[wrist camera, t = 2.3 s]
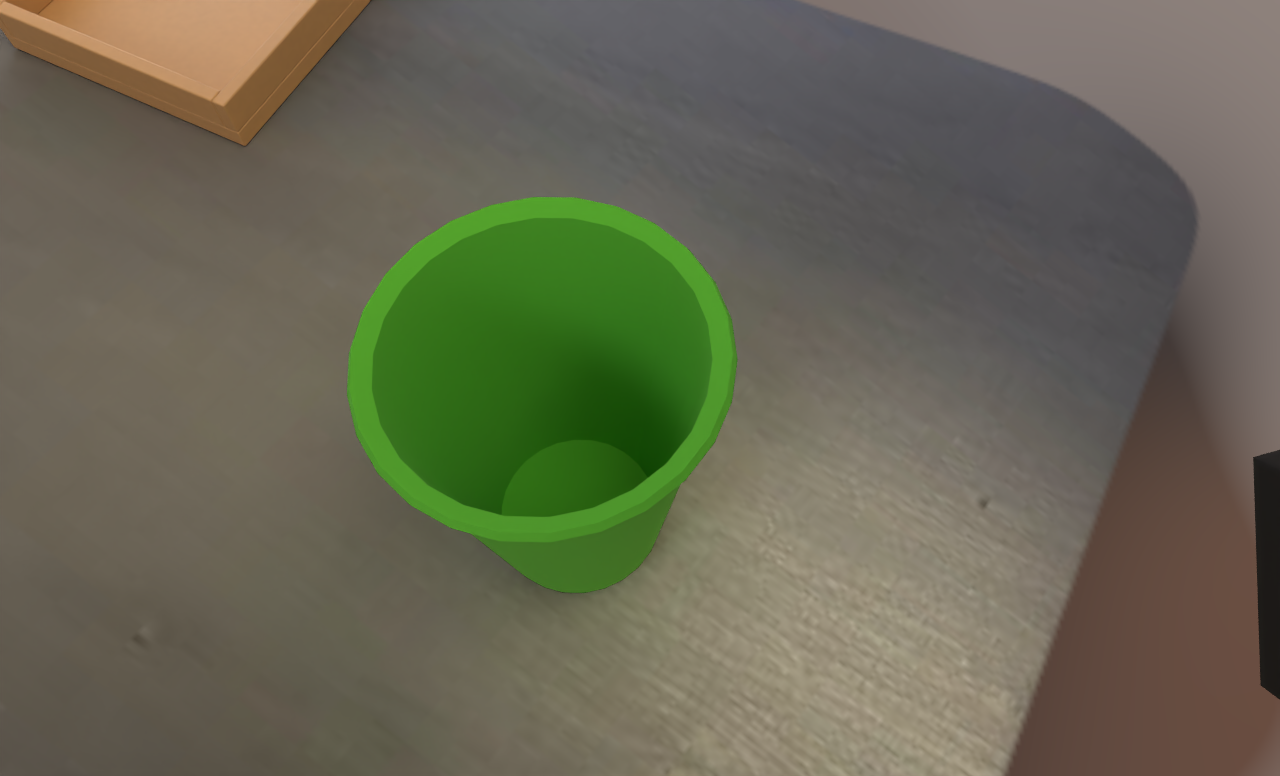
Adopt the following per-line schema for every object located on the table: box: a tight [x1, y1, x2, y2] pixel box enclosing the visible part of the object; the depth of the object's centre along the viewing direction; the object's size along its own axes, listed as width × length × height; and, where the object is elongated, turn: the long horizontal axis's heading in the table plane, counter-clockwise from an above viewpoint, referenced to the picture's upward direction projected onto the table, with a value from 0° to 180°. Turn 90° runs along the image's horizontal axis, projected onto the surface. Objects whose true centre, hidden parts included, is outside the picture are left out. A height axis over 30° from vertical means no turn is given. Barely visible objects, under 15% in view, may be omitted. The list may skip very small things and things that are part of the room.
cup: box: [347, 197, 737, 593], centre depth 29 cm, size 9×9×11 cm
